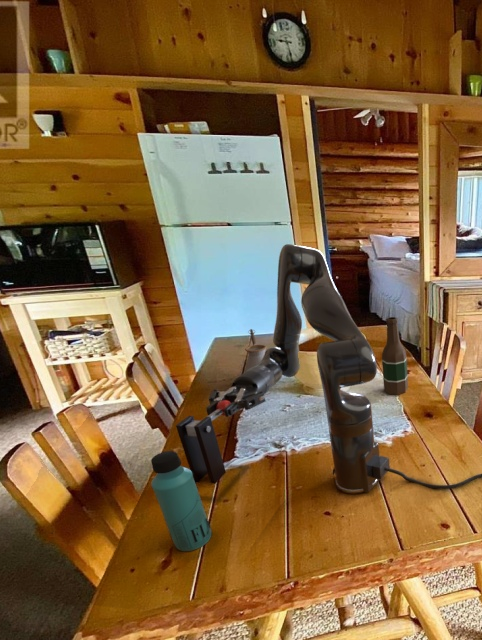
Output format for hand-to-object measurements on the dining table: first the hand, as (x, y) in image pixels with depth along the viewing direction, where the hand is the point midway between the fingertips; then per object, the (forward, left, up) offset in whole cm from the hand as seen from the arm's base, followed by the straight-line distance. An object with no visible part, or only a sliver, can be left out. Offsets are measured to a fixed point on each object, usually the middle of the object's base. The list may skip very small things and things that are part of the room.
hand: (217, 412), depth 101 cm
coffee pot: (+29, -43, -14) cm, 54 cm away
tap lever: (-1, +2, -2) cm, 3 cm away
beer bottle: (-19, -51, -14) cm, 56 cm away
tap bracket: (-2, +8, -14) cm, 16 cm away
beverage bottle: (-15, +24, -14) cm, 31 cm away
